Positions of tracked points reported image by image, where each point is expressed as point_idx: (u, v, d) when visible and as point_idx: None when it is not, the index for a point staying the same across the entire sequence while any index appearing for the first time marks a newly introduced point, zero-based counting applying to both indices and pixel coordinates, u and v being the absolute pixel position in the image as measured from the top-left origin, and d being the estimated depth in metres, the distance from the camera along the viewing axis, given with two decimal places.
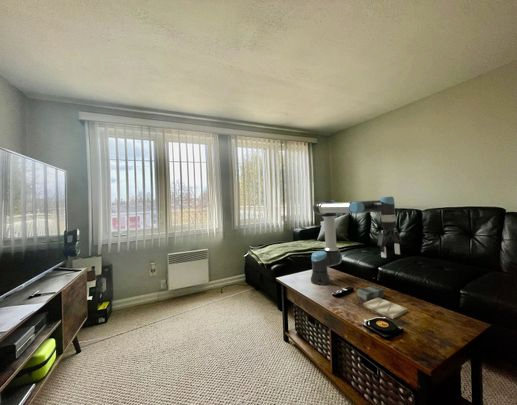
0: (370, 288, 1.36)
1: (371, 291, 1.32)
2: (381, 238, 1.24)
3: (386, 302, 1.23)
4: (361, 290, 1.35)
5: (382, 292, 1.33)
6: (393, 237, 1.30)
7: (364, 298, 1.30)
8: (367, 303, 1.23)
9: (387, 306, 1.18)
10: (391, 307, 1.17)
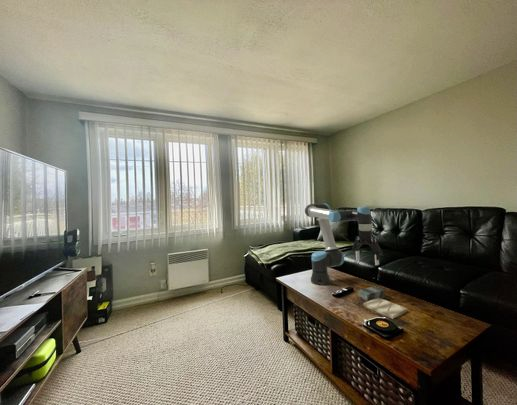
0: (371, 288, 1.36)
1: (372, 291, 1.31)
2: None
3: (386, 302, 1.23)
4: (362, 290, 1.34)
5: (383, 292, 1.32)
6: None
7: (365, 298, 1.30)
8: (367, 303, 1.23)
9: (387, 306, 1.18)
10: (391, 307, 1.17)
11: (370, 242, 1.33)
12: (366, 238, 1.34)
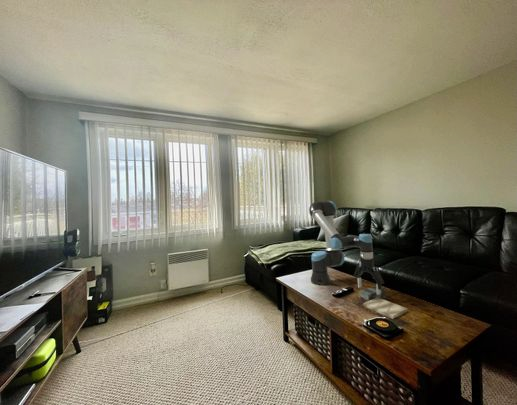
0: (372, 289, 1.35)
1: (373, 292, 1.31)
2: None
3: (386, 302, 1.23)
4: (363, 291, 1.34)
5: (384, 293, 1.32)
6: None
7: (366, 299, 1.29)
8: (367, 303, 1.23)
9: (387, 306, 1.18)
10: (391, 307, 1.17)
11: (372, 270, 1.33)
12: (368, 266, 1.34)
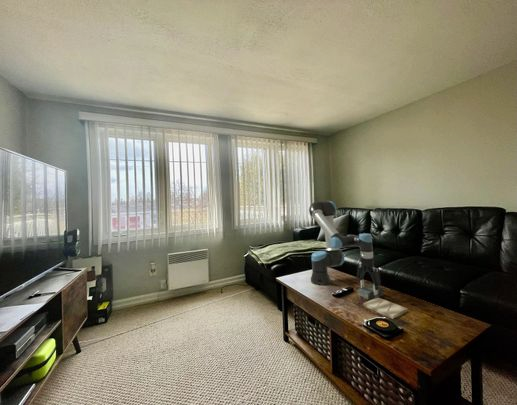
0: (370, 287, 1.38)
1: (372, 290, 1.33)
2: None
3: (386, 302, 1.23)
4: (362, 289, 1.35)
5: (382, 290, 1.35)
6: None
7: (366, 297, 1.30)
8: (367, 303, 1.23)
9: (387, 306, 1.18)
10: (391, 307, 1.17)
11: None
12: (368, 265, 1.34)
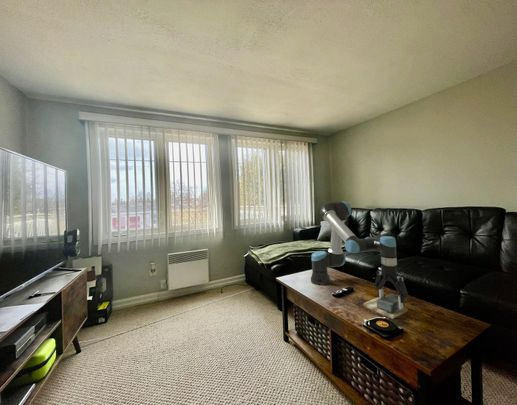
0: (389, 297, 1.19)
1: (393, 301, 1.14)
2: None
3: None
4: (382, 300, 1.16)
5: None
6: None
7: (388, 310, 1.12)
8: (367, 303, 1.23)
9: None
10: None
11: (395, 280, 1.14)
12: (391, 274, 1.14)
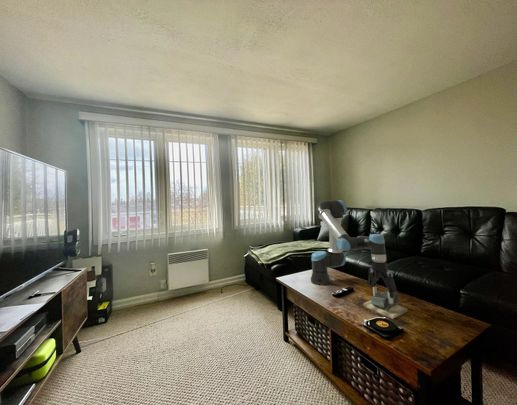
0: (383, 294, 1.23)
1: (386, 296, 1.18)
2: None
3: None
4: (375, 297, 1.20)
5: (397, 296, 1.20)
6: None
7: (381, 305, 1.15)
8: (367, 303, 1.23)
9: None
10: (391, 307, 1.17)
11: None
12: (381, 270, 1.19)
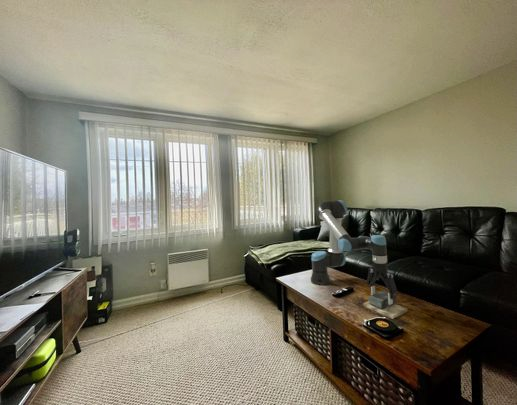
0: (381, 294, 1.24)
1: (384, 297, 1.19)
2: None
3: None
4: (373, 297, 1.21)
5: (395, 297, 1.21)
6: None
7: (378, 306, 1.16)
8: (367, 303, 1.23)
9: None
10: (391, 307, 1.17)
11: None
12: (381, 271, 1.19)
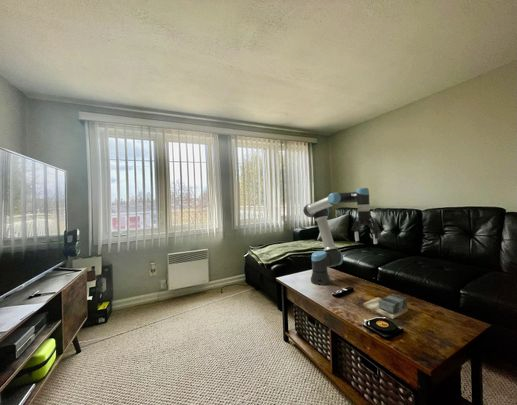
0: (391, 297, 1.18)
1: (396, 301, 1.13)
2: None
3: None
4: (384, 301, 1.15)
5: (405, 301, 1.16)
6: None
7: (390, 311, 1.11)
8: (367, 303, 1.23)
9: None
10: None
11: (369, 222, 1.37)
12: (365, 218, 1.38)
